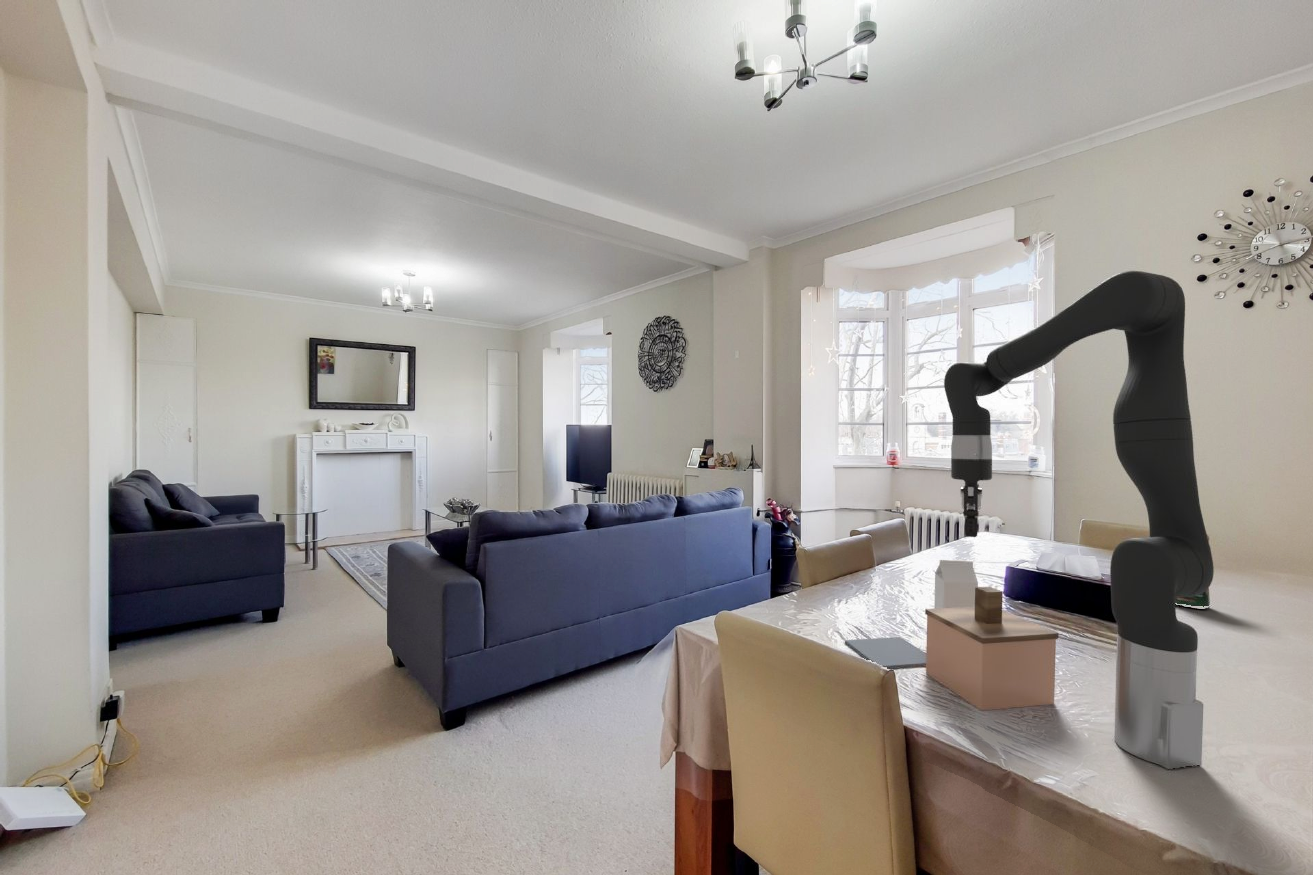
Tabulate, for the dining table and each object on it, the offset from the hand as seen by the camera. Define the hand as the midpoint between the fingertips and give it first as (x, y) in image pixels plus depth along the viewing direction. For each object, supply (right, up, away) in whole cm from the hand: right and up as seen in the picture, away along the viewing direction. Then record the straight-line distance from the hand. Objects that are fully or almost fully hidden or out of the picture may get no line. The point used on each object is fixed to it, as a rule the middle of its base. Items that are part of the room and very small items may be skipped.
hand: (971, 533), depth 117 cm
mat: (-15, -27, +5) cm, 32 cm away
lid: (-3, -16, -11) cm, 19 cm away
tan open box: (-3, -28, -10) cm, 30 cm away
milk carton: (+3, -28, +13) cm, 30 cm away
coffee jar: (+85, -28, +41) cm, 98 cm away
